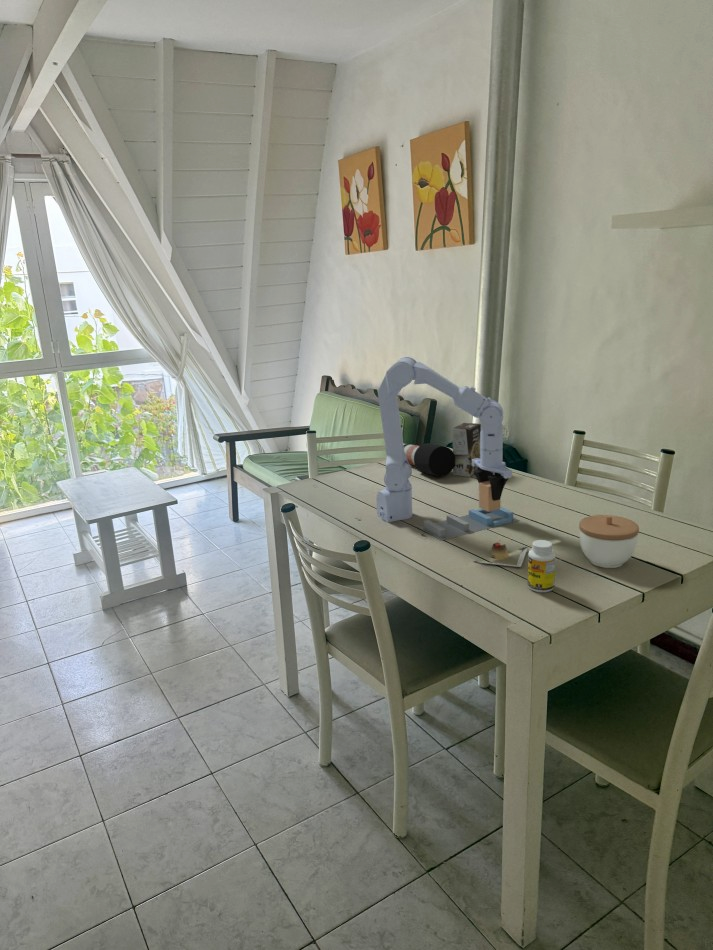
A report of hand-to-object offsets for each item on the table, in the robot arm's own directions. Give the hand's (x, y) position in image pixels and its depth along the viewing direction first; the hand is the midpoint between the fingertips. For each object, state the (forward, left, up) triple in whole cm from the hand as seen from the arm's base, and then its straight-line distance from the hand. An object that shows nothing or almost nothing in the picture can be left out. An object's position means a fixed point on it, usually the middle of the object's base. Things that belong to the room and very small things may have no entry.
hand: (491, 497), depth 179 cm
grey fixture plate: (-7, 0, -7) cm, 10 cm away
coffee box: (+21, +40, -7) cm, 46 cm away
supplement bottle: (-15, -37, -7) cm, 41 cm away
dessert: (-12, -19, -8) cm, 24 cm away
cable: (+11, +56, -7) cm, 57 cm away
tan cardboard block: (0, 0, -3) cm, 3 cm away
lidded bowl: (+6, -35, -7) cm, 36 cm away
